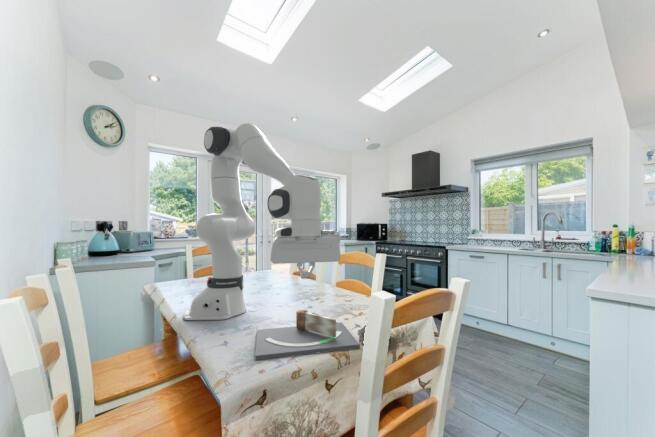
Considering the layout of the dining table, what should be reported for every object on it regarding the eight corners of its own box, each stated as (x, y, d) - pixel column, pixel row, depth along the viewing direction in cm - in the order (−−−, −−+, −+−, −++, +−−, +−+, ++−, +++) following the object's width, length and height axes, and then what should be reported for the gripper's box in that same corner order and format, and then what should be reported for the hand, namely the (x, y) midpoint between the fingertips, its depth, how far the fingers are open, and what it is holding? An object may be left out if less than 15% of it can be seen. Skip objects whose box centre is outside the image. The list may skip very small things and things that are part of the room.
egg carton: (379, 350, 75) (378, 334, 76) (355, 343, 80) (354, 329, 80) (393, 336, 84) (393, 323, 84) (371, 331, 88) (370, 318, 89)
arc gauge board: (255, 359, 70) (255, 354, 70) (257, 333, 87) (257, 329, 87) (359, 348, 76) (359, 343, 76) (341, 325, 93) (341, 321, 94)
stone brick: (294, 327, 87) (294, 311, 87) (301, 324, 90) (301, 309, 90) (331, 339, 78) (331, 321, 78) (338, 335, 81) (338, 318, 81)
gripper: (337, 229, 85) (337, 274, 85) (270, 230, 81) (270, 277, 80) (343, 230, 79) (343, 278, 79) (270, 230, 74) (270, 281, 74)
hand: (305, 278), depth 79 cm, fingers closed
